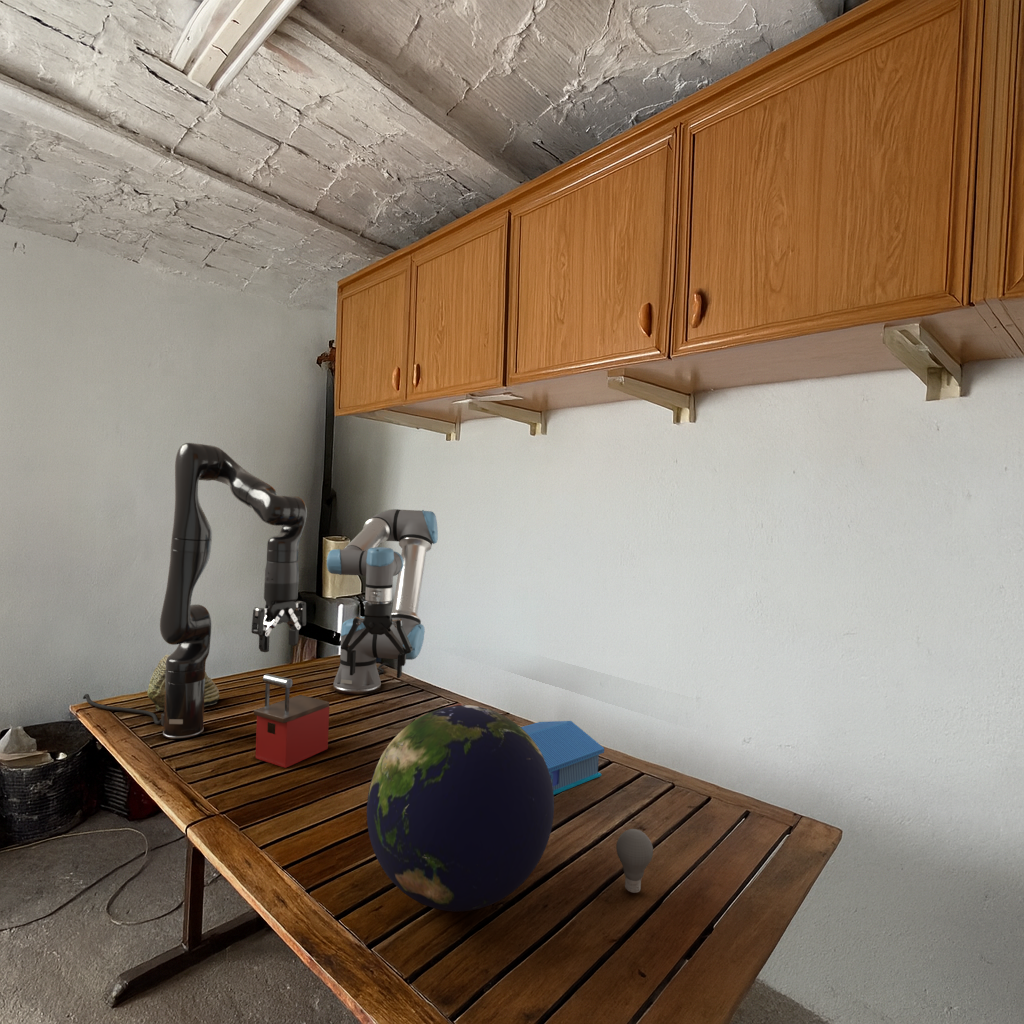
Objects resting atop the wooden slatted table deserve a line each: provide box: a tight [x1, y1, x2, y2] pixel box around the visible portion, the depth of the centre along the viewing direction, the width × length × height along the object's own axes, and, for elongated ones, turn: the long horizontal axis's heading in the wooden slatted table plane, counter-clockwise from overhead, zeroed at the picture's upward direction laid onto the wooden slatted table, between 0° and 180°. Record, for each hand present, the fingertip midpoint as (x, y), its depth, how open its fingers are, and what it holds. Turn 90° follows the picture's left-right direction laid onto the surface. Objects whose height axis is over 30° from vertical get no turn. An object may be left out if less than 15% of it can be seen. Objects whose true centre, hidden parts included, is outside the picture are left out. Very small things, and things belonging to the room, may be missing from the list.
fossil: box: [147, 654, 221, 712], centre depth 185 cm, size 9×18×15 cm, turn 132°
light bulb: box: [615, 828, 654, 894], centre depth 106 cm, size 6×6×10 cm
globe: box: [366, 704, 555, 913], centre depth 102 cm, size 30×30×30 cm
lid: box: [253, 673, 330, 723], centre depth 154 cm, size 15×10×10 cm
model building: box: [520, 720, 605, 796], centre depth 143 cm, size 39×24×10 cm, turn 132°
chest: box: [255, 706, 330, 769], centre depth 155 cm, size 14×10×11 cm
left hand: (279, 648), depth 150 cm, fingers open, 8 cm apart
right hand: (375, 675), depth 182 cm, fingers open, 13 cm apart
